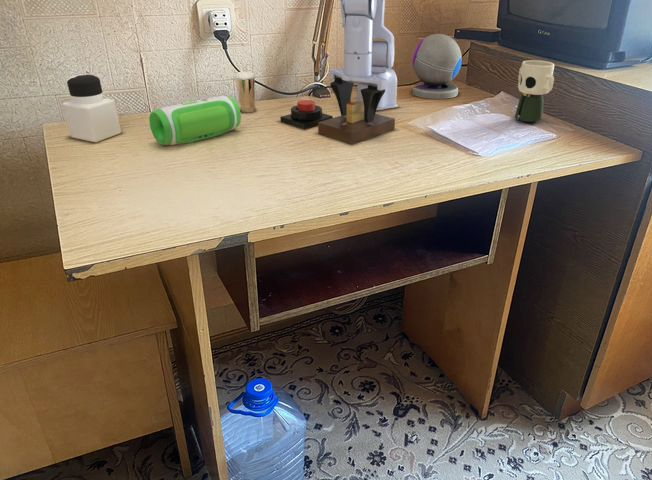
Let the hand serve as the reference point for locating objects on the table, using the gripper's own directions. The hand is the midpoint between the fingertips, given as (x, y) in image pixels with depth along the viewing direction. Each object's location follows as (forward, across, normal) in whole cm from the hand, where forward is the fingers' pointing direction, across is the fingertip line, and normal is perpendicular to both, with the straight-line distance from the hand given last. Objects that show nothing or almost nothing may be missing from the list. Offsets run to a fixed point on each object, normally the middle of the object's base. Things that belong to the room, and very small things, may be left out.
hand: (357, 118), depth 119 cm
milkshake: (+3, -30, -6) cm, 31 cm away
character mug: (+3, +23, +35) cm, 42 cm away
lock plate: (+3, 0, 0) cm, 3 cm away
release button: (0, -13, -3) cm, 13 cm away
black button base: (+3, -13, -3) cm, 14 cm away
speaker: (+3, -21, -27) cm, 34 cm away
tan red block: (0, 0, 0) cm, 0 cm away
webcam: (+3, -8, +40) cm, 41 cm away
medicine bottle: (+3, -37, -41) cm, 55 cm away
